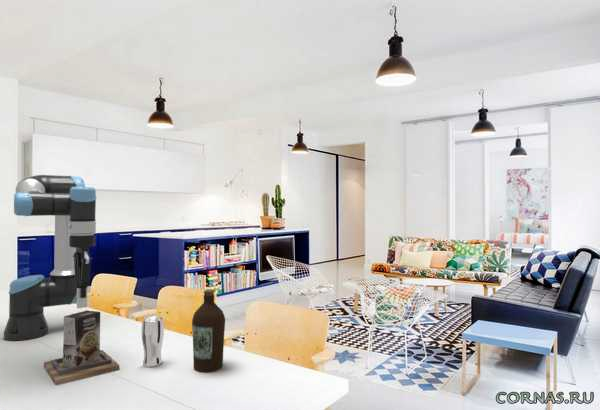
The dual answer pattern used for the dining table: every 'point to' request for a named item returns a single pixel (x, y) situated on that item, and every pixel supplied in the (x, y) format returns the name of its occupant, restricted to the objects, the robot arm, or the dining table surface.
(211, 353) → the olive oil
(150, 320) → the beer glass
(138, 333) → the dining table surface
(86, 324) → the coffee box
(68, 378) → the pocket board
